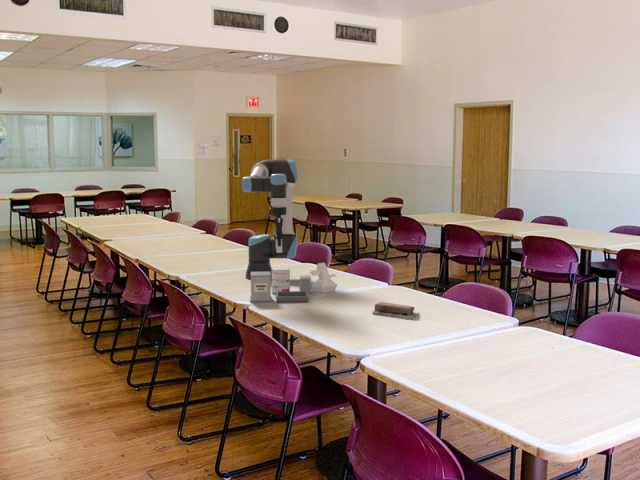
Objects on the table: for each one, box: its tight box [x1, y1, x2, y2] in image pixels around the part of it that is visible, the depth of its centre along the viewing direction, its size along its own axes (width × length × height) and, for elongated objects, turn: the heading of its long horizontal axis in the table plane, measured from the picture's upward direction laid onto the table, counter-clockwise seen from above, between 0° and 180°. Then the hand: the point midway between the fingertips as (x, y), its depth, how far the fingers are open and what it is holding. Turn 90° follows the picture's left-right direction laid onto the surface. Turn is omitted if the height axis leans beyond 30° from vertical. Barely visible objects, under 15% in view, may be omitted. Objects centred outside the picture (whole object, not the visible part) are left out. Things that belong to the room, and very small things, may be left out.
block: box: [299, 274, 312, 294], centre depth 324 cm, size 5×5×8 cm
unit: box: [249, 272, 273, 303], centre depth 307 cm, size 10×10×13 cm
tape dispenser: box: [310, 262, 338, 294], centre depth 327 cm, size 8×14×14 cm, turn 125°
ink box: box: [271, 267, 291, 294], centre depth 323 cm, size 9×5×12 cm, turn 84°
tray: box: [275, 290, 309, 303], centre depth 309 cm, size 12×15×2 cm
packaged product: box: [372, 301, 420, 320], centre depth 281 cm, size 18×5×10 cm
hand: (278, 250), depth 319 cm, fingers open, 13 cm apart
